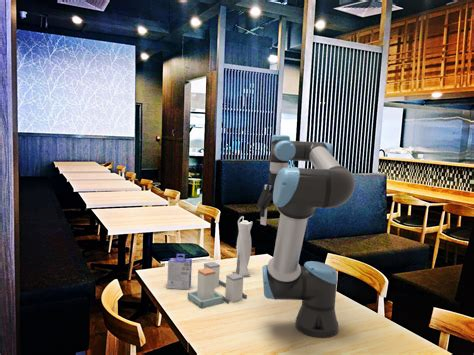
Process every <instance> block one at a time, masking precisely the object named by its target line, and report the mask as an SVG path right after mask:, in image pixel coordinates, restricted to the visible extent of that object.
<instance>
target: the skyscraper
mask: <svg viewBox="0 0 474 355" xmlns="http://www.w3.org/2000/svg"><path fill="white" fill-rule="evenodd" d="M244 218H245V217H244V216H243V215H242V216H240V217H239V219H238V220H237V226H238V227H237V228H238V235H237V239H236V268H235V271H232V272H231V274H235V273H237V274H239V275H241V276H243V278H250V277H251V275H250V272H249V268H248V266H249V262H250V259H251V253H252V236H251V229H252V226H253V221H250V222H249V221H248V220H244ZM241 219H242V221H241Z"/></svg>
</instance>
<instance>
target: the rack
mask: <svg viewBox="0 0 474 355" xmlns="http://www.w3.org/2000/svg"><path fill="white" fill-rule="evenodd" d="M220 267H221V266H220V264H219V263H217V262H215V261H210V262H205V263H203V269H205V268H210V269H212V270H213V271H215V288H217V287H219V286H221V287H224V288H225V296H224V295H222V294H221V293H219V292H218V291H216V290H214V291H215V292H217V293H219V294H220V295H222V296H224V303H226V304H227V305H229V304H230V303H235V302H240V301H242V300H243V299H244V300H246V299H247V298H248V296H247V293H246V294H245V293H244V292H243V291H244V290H243V289H244V277H243V276H241V275H239V274H237V273H235V274H233V273H231V274H227V275H225V276H226V277H225V282H224V281H222V280H221V279H220Z"/></svg>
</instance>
